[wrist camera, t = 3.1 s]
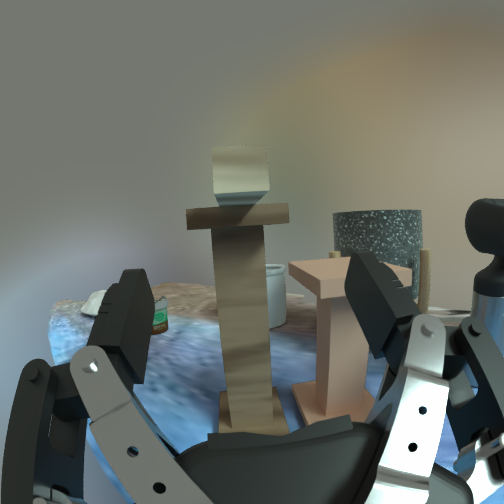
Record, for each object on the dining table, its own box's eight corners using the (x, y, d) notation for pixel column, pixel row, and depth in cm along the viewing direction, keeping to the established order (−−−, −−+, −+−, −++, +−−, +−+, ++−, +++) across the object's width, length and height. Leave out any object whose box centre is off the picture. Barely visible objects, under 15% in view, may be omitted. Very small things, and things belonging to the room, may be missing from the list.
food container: (152, 339, 74) (146, 306, 73) (139, 335, 77) (133, 304, 76) (179, 327, 85) (175, 297, 84) (166, 324, 88) (162, 295, 87)
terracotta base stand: (390, 426, 31) (412, 269, 29) (314, 447, 30) (320, 280, 28) (351, 379, 47) (356, 256, 45) (291, 390, 46) (288, 261, 44)
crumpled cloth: (119, 298, 120) (114, 280, 118) (157, 310, 98) (151, 288, 96) (77, 316, 102) (71, 296, 100) (104, 335, 80) (95, 311, 78)
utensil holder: (231, 325, 84) (226, 270, 83) (257, 312, 97) (254, 263, 95) (272, 333, 76) (269, 272, 75) (295, 317, 88) (293, 264, 87)
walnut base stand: (293, 451, 30) (288, 202, 27) (219, 458, 29) (185, 209, 26) (275, 393, 46) (266, 212, 43) (220, 397, 45) (201, 216, 42)
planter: (328, 356, 58) (326, 212, 56) (339, 323, 79) (337, 214, 76) (422, 357, 49) (430, 208, 47) (411, 322, 70) (413, 212, 67)
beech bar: (269, 190, 17) (266, 144, 17) (214, 193, 17) (211, 147, 16) (245, 213, 43) (243, 193, 42) (223, 214, 42) (221, 195, 42)
